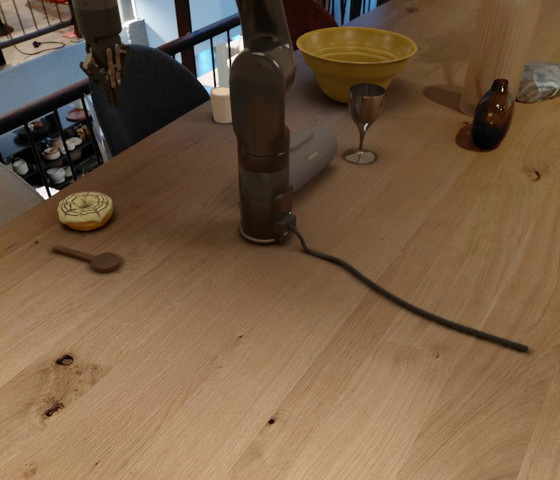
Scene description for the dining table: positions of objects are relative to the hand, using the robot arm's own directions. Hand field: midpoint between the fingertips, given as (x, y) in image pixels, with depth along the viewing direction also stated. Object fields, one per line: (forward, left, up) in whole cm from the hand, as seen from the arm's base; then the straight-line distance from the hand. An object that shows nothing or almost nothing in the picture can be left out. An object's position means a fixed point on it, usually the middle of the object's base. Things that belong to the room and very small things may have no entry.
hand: (116, 106), depth 110 cm
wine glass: (-40, -36, -18) cm, 56 cm away
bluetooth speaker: (-31, -17, -7) cm, 36 cm away
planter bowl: (-26, -72, -18) cm, 78 cm away
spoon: (-7, +25, -17) cm, 31 cm away
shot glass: (-1, -42, -18) cm, 45 cm away
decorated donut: (+1, +14, -18) cm, 22 cm away
